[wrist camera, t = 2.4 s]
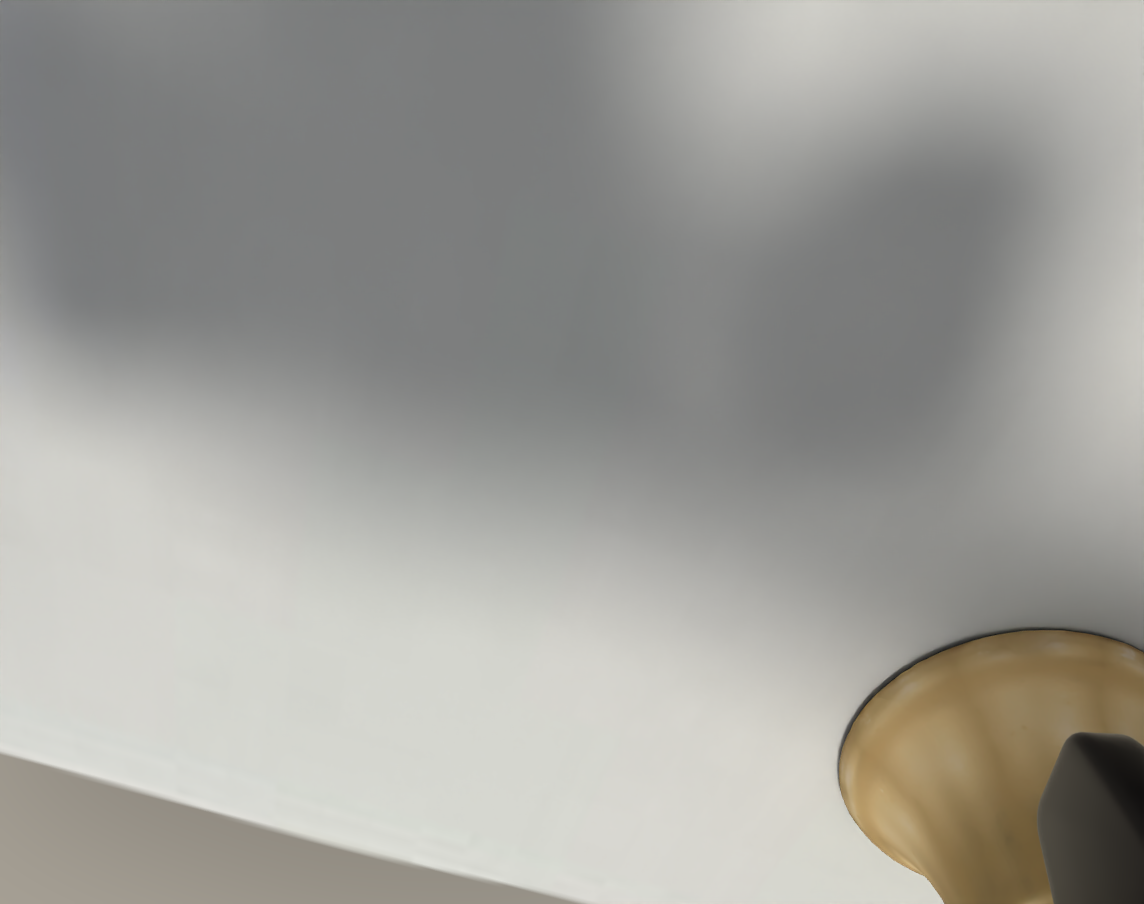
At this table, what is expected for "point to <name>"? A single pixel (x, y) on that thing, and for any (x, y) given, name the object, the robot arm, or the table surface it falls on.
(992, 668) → the hand bell
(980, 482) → the table surface
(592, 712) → the table surface
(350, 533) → the table surface
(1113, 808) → the robot arm
